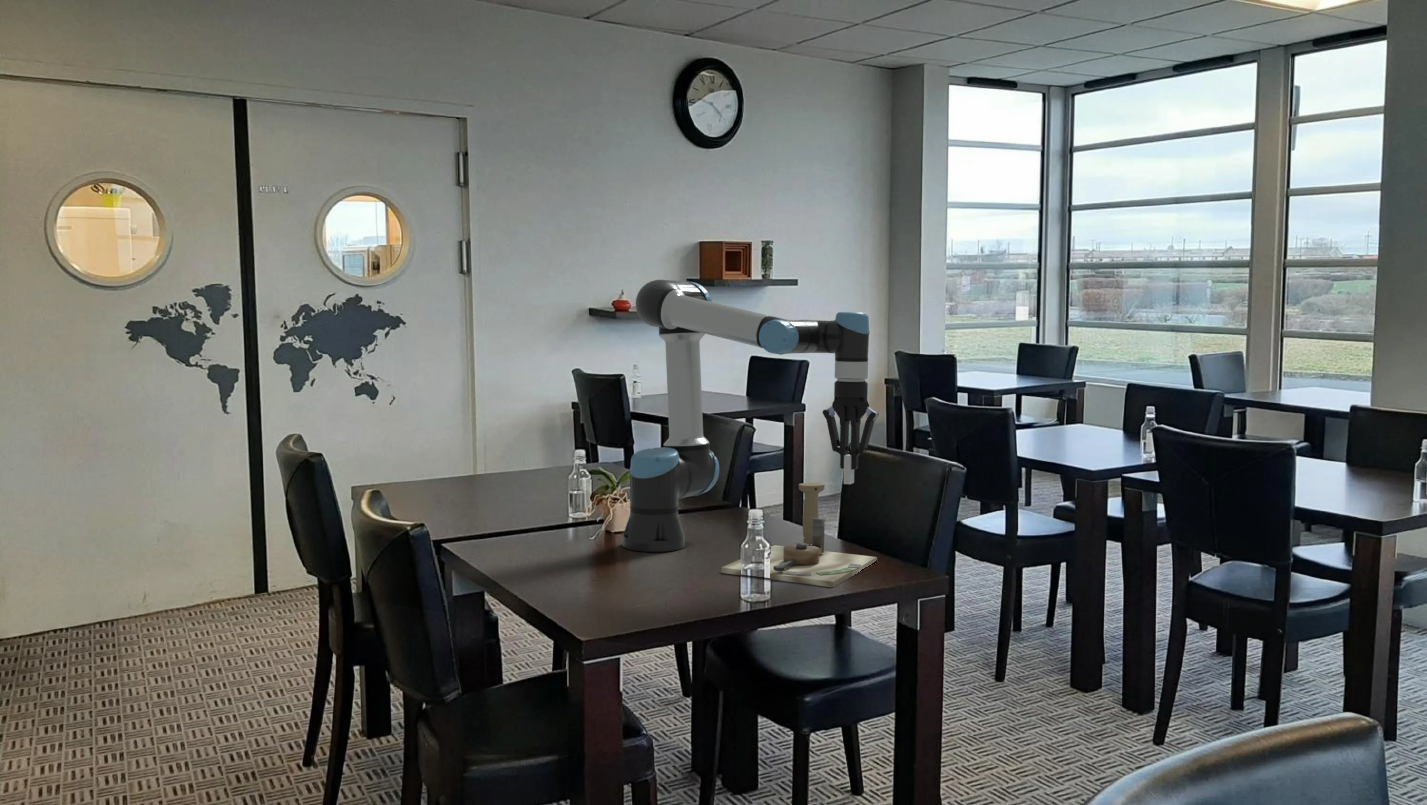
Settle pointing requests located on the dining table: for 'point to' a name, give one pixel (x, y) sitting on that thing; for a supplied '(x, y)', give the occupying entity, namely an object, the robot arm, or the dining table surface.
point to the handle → (810, 507)
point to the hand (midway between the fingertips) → (848, 483)
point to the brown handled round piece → (805, 548)
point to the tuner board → (812, 568)
